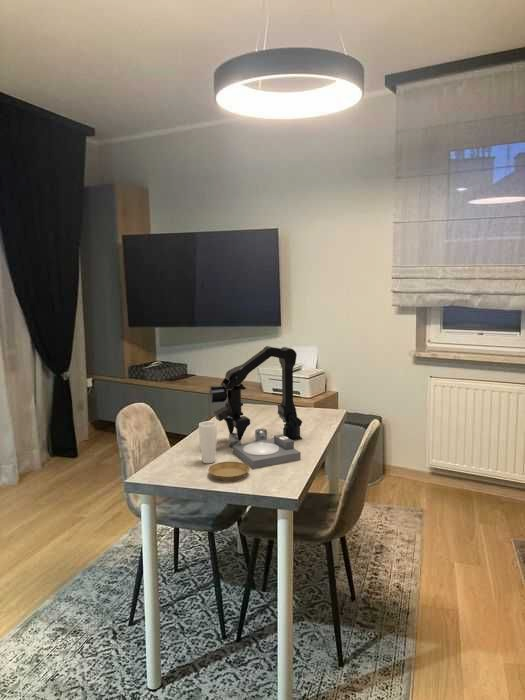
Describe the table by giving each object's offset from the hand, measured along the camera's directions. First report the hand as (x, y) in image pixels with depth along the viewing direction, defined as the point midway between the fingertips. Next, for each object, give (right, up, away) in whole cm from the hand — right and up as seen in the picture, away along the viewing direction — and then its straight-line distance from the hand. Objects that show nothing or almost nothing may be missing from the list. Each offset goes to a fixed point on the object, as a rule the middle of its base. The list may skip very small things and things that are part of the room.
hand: (235, 436), depth 220 cm
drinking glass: (-9, -7, -17) cm, 20 cm away
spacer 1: (0, -4, +1) cm, 4 cm away
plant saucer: (-1, -9, -30) cm, 32 cm away
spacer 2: (+11, -3, +6) cm, 13 cm away
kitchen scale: (+13, -6, -12) cm, 18 cm away
